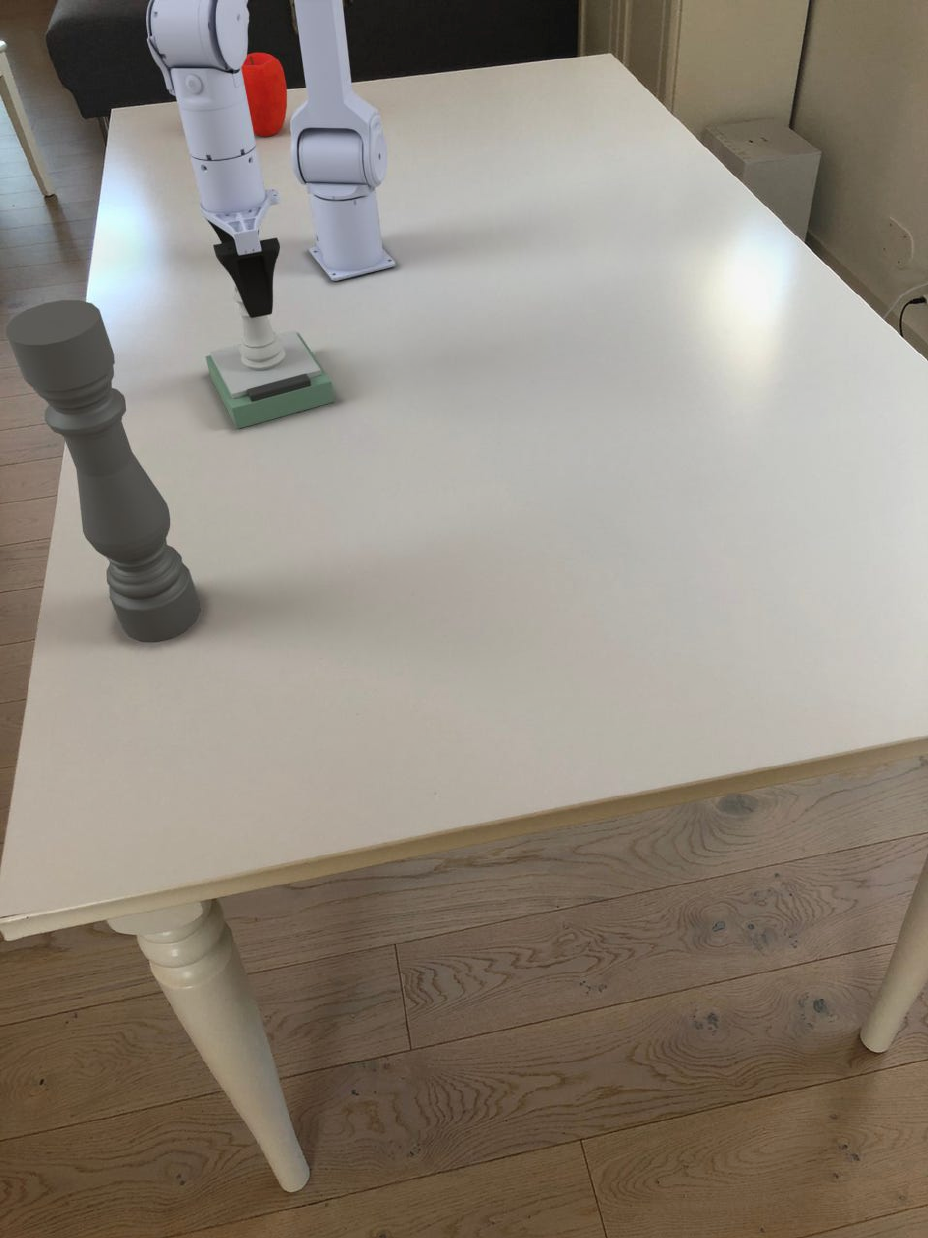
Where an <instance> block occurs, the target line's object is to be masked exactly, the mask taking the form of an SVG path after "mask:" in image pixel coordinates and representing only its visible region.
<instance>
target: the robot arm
mask: <svg viewBox="0 0 928 1238" xmlns="http://www.w3.org/2000/svg"><path fill="white" fill-rule="evenodd" d="M293 2H294V10H295V16H296V17H295V18H296V23H297V29H298V30H297V31H298V38H299V47H300V52H301V59H302V68H303V75H304V80H305V82H304V83H305V89H306V96H307V98H306V100H304V101H303V102H302V103H301V104H300V105H299V106H298V107H297V108H296V109H295V110H294V112H293V113H292V115H291V117H290V121H289V129H290V146H289V155H290V156H289V157H290V165H291V169H292V171H293V174H294V176H295V178H296V179H297V181H298V182H299V183H300V184H301V185H304V186H306V193H307V194H308V195H309V207H310V208H309V209H310V213H311V220H312V225H313V226H312V227H313V231H314V237H315V239H314V240H315V246H311V247H310V248H309V249H308V250H309V253H310V254H311V256H312V257H314V259H315V261H316V262H317V264H319V267H321V269H323V271H324V272H325V273H326V275H327V276H328V277H329V279H330V280H331V281H332V282H333V281H334V282H337V281H338V282H339V281H341V280H346V279H350V278H353V277H357V276H362V275H366V274H369V273H373V272H378V271H381V270H386V269H390V268H394V267H395V266H396V261H395V260H394V259H393V258H392V257H391V255H389V253H387V251H386V250H385V249H384V248H383V241H382V232H381V231H382V230H381V224H380V223H381V222H380V216H379V215H380V214H379V206H378V198H377V190H376V188H379V187H380V186H381V184H382V182H383V181H384V180H385V178H386V174H387V169H388V145H387V140H386V136H385V134H384V131H383V126H382V125H383V124H382V120H381V119H382V118H381V116H380V112H379V109H378V108H376V107H375V106H373V105H372V104H371V103H369V101H367V100H365V99H364V98H363V97H361V96H360V95H358V94H357V93H355V92H354V90H353V86H352V77H351V68H350V67H351V66H350V59H349V57H350V56H349V49H348V40H347V32H346V23H345V22H346V20H345V12H344V3H343V2H344V1H343V0H293ZM248 3H249V0H149V1H148V5H147V8H146V19H145V20H146V31H147V38H146V41H147V45H148V48H149V52H150V54H151V56H152V58H153V60H154V62H155V63H156V65H157V66H158V67H159V69H160V71H161V73H162V75H163V78H164V82H165V86H166V89H167V91H168V92H169V94H170V95H172V96H175V99H176V103H177V107H178V110H179V115H180V120H181V124H182V128H183V133H184V137H185V140H186V145H187V149H188V153H189V158H190V162H191V166H192V170H193V174H194V178H195V182H196V186H197V192H198V194H199V199H200V201H199V210H200V213H201V215H202V217H203V218H204V219H205V220H206V221H207V222H208V224H209V225H210V227H211V228H212V230H214V232H215V234H216V236H217V237H218V239H219V241H220V243H216V244H213V251H214V254H215V257H216V259H217V260H218V262H219V263H220V264H221V265H222V267H223V268H224V269H225V270H226V272H227V273H228V274H229V276H230V277H231V279H232V281H233V283H234V284H235V285H234V286H236V287H237V289H238V292H239V294H240V296H241V299H242V302H243V304H244V306H245V309H246V311H247V313H248V314H249V316H250V318H255V317H260V316H265V315H267V316H270V315H272V314H273V309H274V275H275V274H274V273H275V268H276V264H277V260H278V257H279V255H280V251H281V244H280V241H279V239H278V237H271V238H267V239H266V238H265V239H261V240H260V235H259V234H260V227H261V225H262V223H263V220H264V218H265V216H266V214H267V212H268V210H269V208H270V207H271V206H275V205H279V204H281V197H280V193H279V191H278V189H276V188H269V189H265V184H264V178H263V174H262V173H263V172H262V168H261V162H260V158H259V152H258V148H257V144H256V143H257V142H256V137H255V134H254V132H253V127H252V121H251V116H250V111H249V106H248V101H247V95H246V90H245V85H244V80H243V75H242V70H241V66H242V65H243V63H244V60H245V59H246V56H247V55H248V49H249V48H248V46H249V35H248V34H249V33H248V29H249V23H250V12H249V9H248V6H247V5H248Z"/></svg>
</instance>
